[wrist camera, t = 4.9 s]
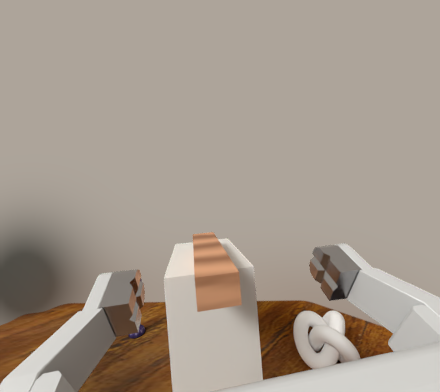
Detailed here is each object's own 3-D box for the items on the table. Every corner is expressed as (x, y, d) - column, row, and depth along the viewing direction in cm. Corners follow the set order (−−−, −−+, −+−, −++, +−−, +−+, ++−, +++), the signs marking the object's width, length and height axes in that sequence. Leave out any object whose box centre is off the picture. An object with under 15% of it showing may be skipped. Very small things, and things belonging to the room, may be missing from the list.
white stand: (269, 456, 28) (253, 266, 28) (179, 480, 26) (163, 278, 26) (236, 349, 48) (227, 238, 48) (184, 359, 46) (175, 244, 46)
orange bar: (241, 304, 18) (239, 271, 18) (197, 312, 18) (194, 277, 18) (214, 247, 40) (213, 232, 40) (193, 249, 40) (192, 234, 40)
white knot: (301, 332, 52) (298, 297, 52) (358, 347, 45) (355, 307, 45) (292, 366, 42) (288, 323, 42) (363, 391, 36) (359, 340, 36)
